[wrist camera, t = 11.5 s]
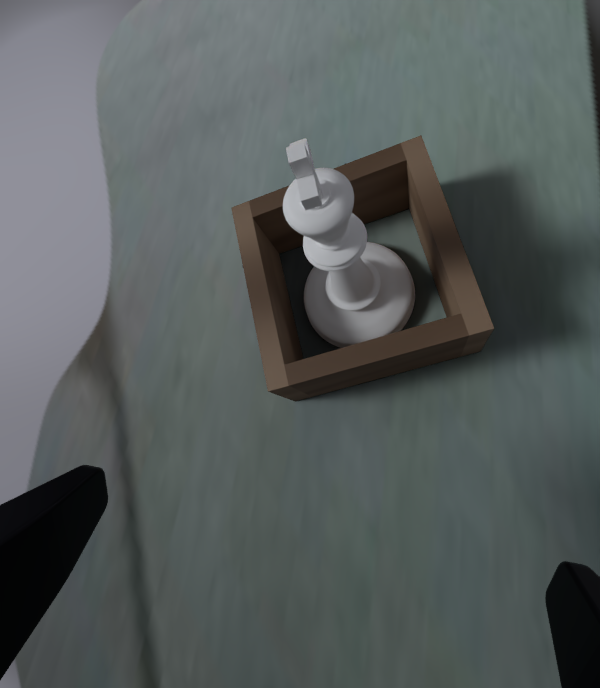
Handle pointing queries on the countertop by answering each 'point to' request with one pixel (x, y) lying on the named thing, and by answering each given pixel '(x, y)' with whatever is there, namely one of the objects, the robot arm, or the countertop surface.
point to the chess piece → (343, 259)
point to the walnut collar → (369, 205)
